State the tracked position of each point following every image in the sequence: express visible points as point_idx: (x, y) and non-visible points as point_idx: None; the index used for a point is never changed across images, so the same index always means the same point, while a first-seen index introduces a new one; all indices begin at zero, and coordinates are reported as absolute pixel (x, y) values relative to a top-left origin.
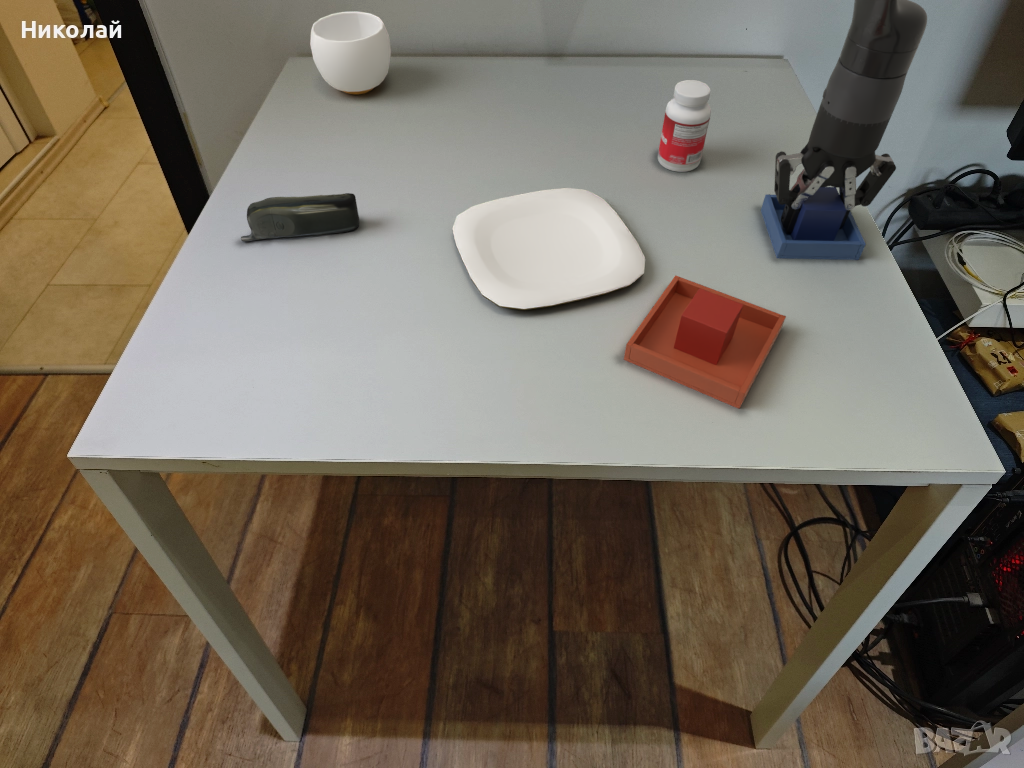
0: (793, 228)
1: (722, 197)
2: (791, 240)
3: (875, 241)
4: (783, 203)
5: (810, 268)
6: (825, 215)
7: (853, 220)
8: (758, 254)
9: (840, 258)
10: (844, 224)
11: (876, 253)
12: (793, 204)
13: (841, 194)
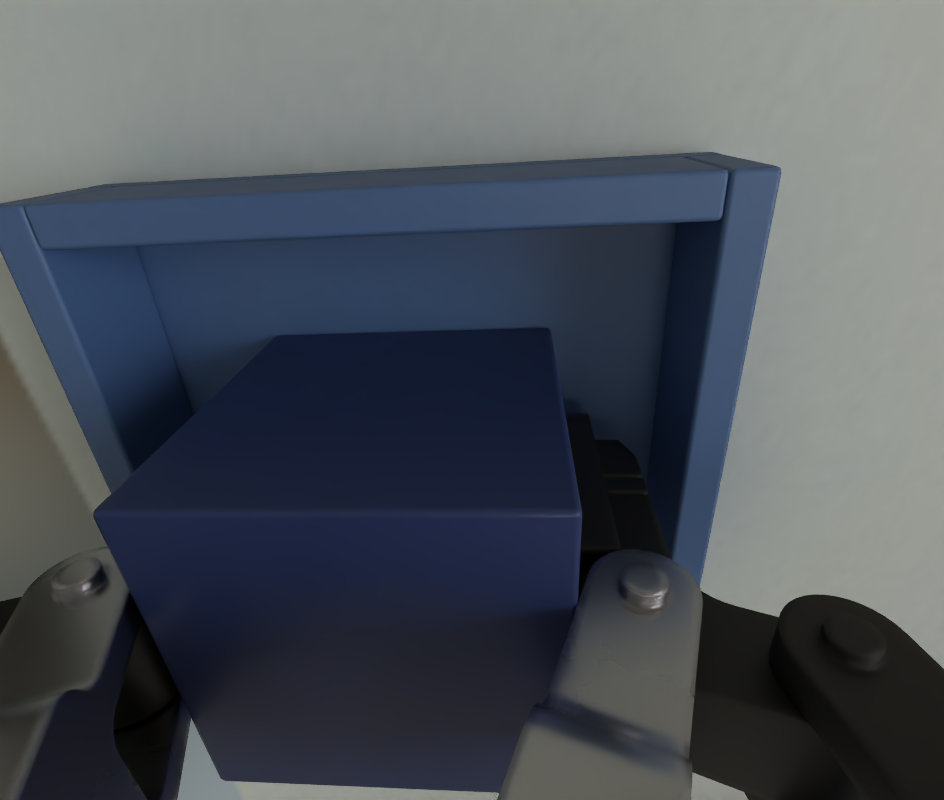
0: None
1: None
2: (668, 218)
3: (28, 389)
4: (819, 608)
5: (465, 42)
6: (332, 467)
7: None
8: (837, 202)
9: (226, 178)
10: None
11: (2, 275)
12: (686, 597)
13: (166, 713)
